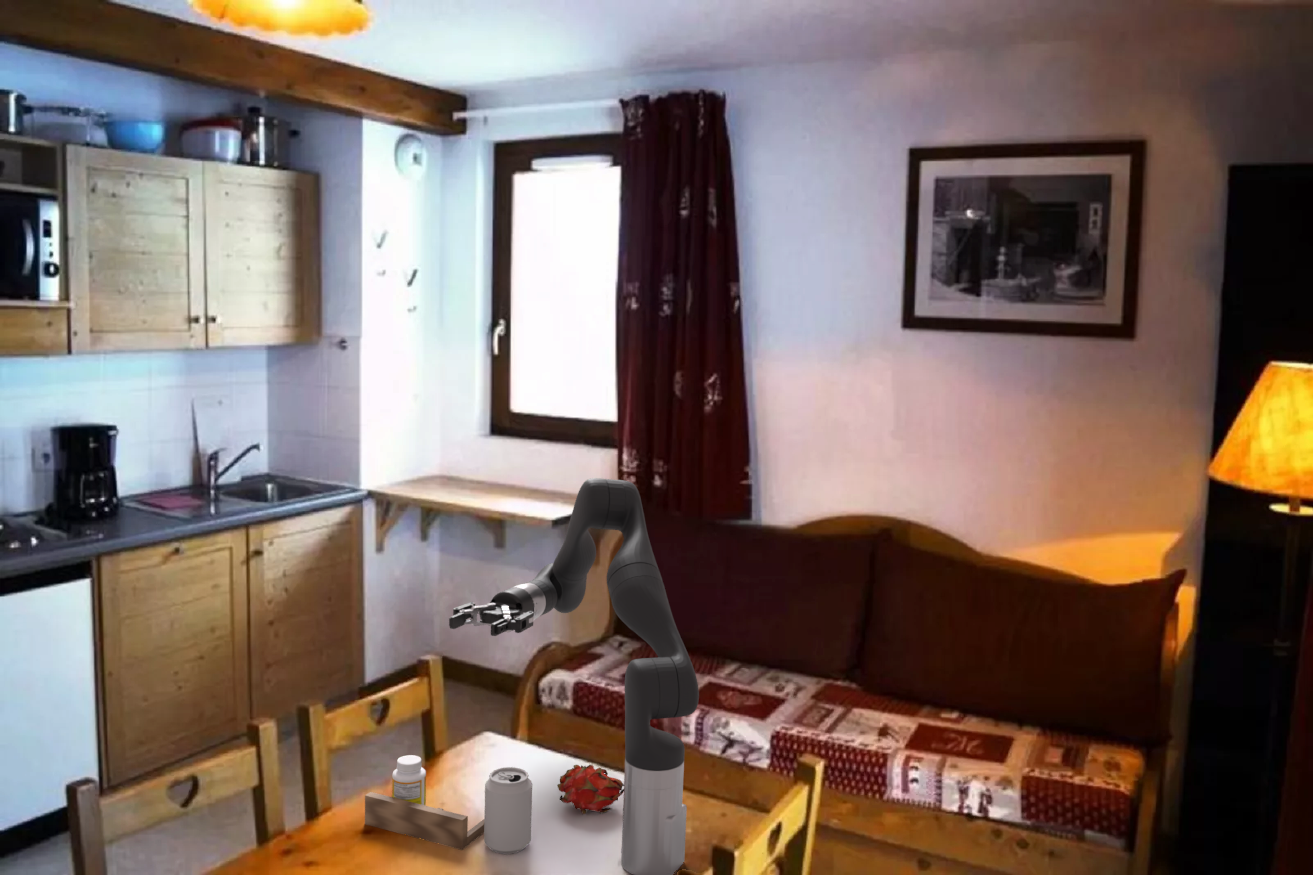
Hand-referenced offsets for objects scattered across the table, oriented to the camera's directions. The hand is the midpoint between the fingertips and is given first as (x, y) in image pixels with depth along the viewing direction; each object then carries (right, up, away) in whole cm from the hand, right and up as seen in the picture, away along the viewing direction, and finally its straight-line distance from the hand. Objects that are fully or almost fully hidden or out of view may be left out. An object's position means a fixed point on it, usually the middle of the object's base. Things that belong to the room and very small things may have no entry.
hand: (471, 626), depth 194 cm
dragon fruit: (+21, -31, -3) cm, 38 cm away
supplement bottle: (-9, -31, -9) cm, 33 cm away
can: (+9, -32, -17) cm, 38 cm away
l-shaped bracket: (-5, -31, -11) cm, 33 cm away
